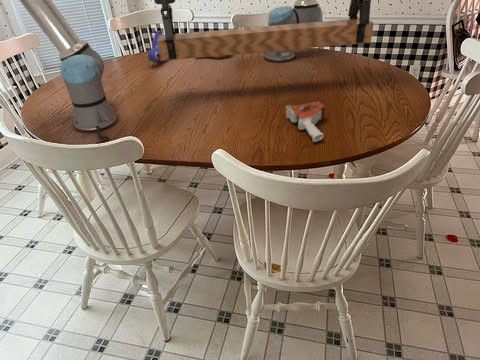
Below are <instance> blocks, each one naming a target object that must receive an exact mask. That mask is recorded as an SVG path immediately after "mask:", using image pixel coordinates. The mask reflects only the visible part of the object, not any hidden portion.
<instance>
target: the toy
mask: <svg viewBox="0 0 480 360" xmlns="http://www.w3.org/2000/svg"><path fill="white" fill-rule="evenodd" d="M151 33H152V34H153V33H154V35H153V38H152V43H151V48H150V49H147V50H148V51H147V52H146V58H147V59H148V61H150V62H152V63H153V65H154V67H156V66H157V63H158V62H162V61H161V59H160V53H159V48H158V43H157V40H158V37H159V35H165V33H163V32H162V31H161V30H158V29H157V30H152V31H151ZM151 33H150V34H151Z"/></svg>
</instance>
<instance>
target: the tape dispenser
mask: <svg viewBox="0 0 480 360" xmlns="http://www.w3.org/2000/svg"><path fill="white" fill-rule="evenodd" d="M305 107H310V109H309V110H306V111H304V109H305ZM285 115H286V118H288V119H290V123H297V128H298V130H300V131H302V130H306V132H307V134H308V135H309V136H310V138H311V140H312V142H314V143H316V142H319V141H321V140H323V138H324V133H323V132H321V131H320V129H319V128H318V127H317V126H315V125H317V123H318V121H322V120H323V118H324V115H325V105H324V104H323V103H322V102H321V101H319V100H318V101H311V102H306V103H301V104H295V105H290V104H288V105H286V106H285Z"/></svg>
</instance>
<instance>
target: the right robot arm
mask: <svg viewBox="0 0 480 360" xmlns="http://www.w3.org/2000/svg"><path fill="white" fill-rule="evenodd" d="M371 3H372V0H350V4H349V8H348V14H347V16H348V17H349V19H358V18H359V24H358V30H357V38H356V43H362V44H364V43H363V41H364V34H365V27H366V25H367V24H369V20H370V17H371ZM311 22H323V10H322V7H321V6H319V2H318V1H317V0H296V1H295V2H294V3H293V7H292V6H290V5H286V6H278V7H275V8H273V9H271V10H270V11H269V13H268V20H267V24H268V25H267V26H275V25H287V24H299V23H311ZM264 53H265V54H264V59H265V60H266V61H268V62H273V63H284V62H290V61H293V60H294V59H295V58H296V54H295V49H293V50H282V51H270V52H264Z"/></svg>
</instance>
